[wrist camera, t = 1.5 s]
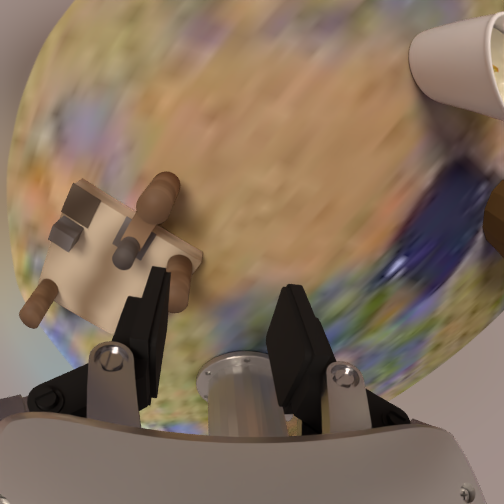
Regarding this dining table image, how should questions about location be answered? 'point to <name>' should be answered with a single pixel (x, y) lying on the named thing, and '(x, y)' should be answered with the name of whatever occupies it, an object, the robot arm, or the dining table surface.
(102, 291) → the stool
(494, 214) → the flowerpot
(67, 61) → the dining table surface
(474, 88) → the white paper cup
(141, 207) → the hinged leg
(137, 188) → the dining table surface
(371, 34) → the dining table surface
